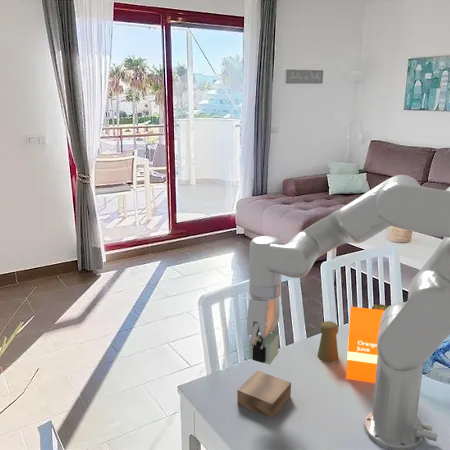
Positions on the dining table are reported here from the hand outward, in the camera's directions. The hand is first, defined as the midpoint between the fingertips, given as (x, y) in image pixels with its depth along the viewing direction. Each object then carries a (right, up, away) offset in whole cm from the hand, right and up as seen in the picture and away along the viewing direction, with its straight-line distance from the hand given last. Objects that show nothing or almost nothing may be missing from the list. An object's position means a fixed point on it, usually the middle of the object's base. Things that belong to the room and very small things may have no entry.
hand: (264, 354), depth 115 cm
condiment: (+39, -5, +31) cm, 50 cm away
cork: (+21, -7, +23) cm, 32 cm away
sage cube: (0, -1, 0) cm, 1 cm away
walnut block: (0, -13, +4) cm, 14 cm away
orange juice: (+29, -10, +14) cm, 34 cm away
